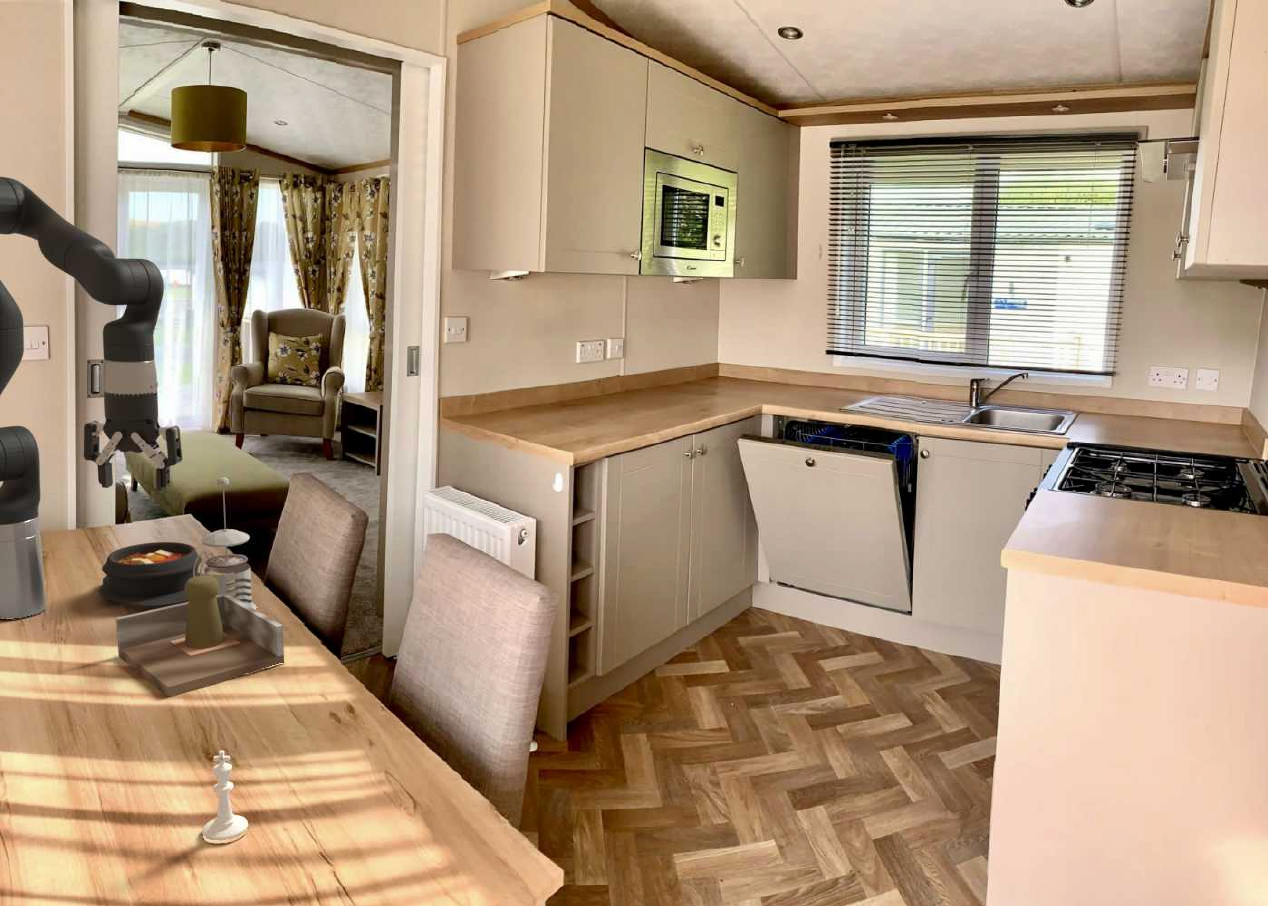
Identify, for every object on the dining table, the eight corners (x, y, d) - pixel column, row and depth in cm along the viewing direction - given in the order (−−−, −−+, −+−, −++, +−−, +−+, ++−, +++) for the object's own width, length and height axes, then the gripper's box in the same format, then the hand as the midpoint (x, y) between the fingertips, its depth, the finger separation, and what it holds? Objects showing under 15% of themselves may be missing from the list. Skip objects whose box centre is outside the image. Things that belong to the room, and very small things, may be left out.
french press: (269, 607, 182) (264, 475, 177) (219, 627, 171) (212, 488, 167) (230, 598, 186) (224, 469, 181) (179, 617, 175) (171, 481, 171)
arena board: (118, 656, 158) (115, 618, 157) (228, 628, 171) (227, 593, 170) (168, 696, 145) (166, 655, 143) (284, 663, 158) (282, 625, 156)
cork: (228, 644, 160) (225, 580, 158) (188, 651, 157) (184, 586, 155) (220, 632, 165) (217, 569, 163) (181, 639, 162) (177, 575, 160)
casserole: (232, 601, 184) (230, 558, 183) (127, 625, 171) (124, 579, 170) (178, 569, 201) (176, 529, 200) (79, 588, 188) (75, 546, 187)
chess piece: (210, 820, 114) (206, 741, 112) (254, 819, 115) (250, 740, 113) (195, 845, 109) (190, 762, 108) (241, 844, 110) (237, 762, 108)
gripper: (71, 388, 150) (77, 491, 153) (166, 394, 150) (170, 497, 154) (96, 381, 157) (101, 480, 160) (186, 387, 158) (189, 485, 161)
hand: (134, 488), depth 157 cm, fingers open, 8 cm apart
